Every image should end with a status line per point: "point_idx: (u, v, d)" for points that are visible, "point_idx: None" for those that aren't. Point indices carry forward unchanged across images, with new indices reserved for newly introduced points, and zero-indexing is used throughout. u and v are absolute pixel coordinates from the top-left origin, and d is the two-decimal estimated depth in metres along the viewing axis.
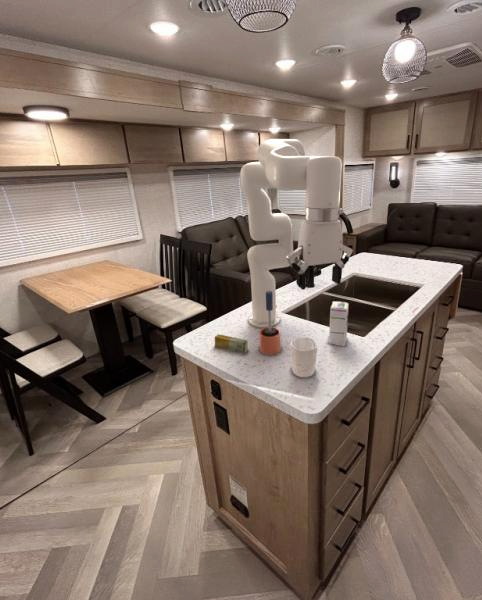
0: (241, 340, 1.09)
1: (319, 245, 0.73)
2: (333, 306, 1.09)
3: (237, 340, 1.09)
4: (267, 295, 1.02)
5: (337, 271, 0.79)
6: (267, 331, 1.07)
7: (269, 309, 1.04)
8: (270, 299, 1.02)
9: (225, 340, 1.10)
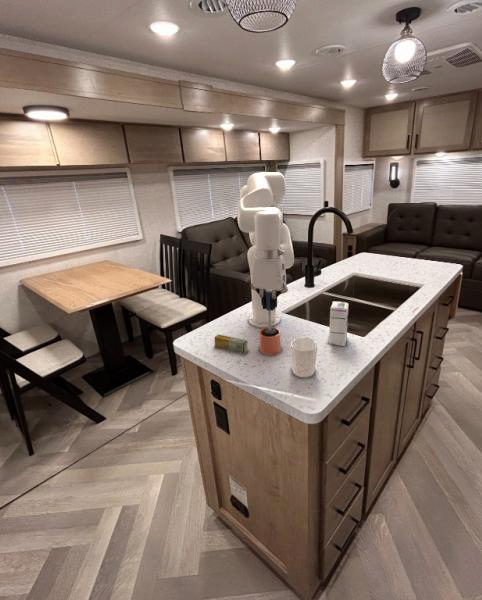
0: (241, 340, 1.09)
1: (260, 275, 0.98)
2: (333, 306, 1.09)
3: (237, 340, 1.09)
4: (267, 295, 1.02)
5: None
6: (267, 331, 1.07)
7: (269, 309, 1.04)
8: (270, 299, 1.02)
9: (225, 340, 1.10)
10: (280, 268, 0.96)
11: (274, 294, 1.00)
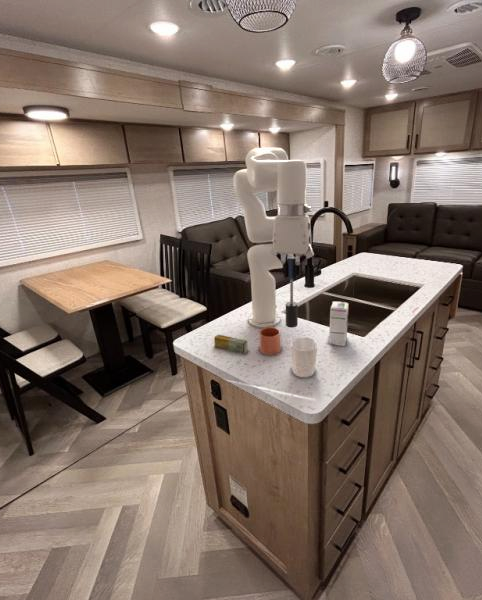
0: (241, 340, 1.09)
1: (283, 236, 0.86)
2: (333, 306, 1.09)
3: (237, 340, 1.09)
4: (289, 261, 0.89)
5: None
6: (288, 304, 0.94)
7: (291, 277, 0.91)
8: (293, 266, 0.89)
9: (225, 340, 1.10)
10: (306, 227, 0.83)
11: (298, 259, 0.88)
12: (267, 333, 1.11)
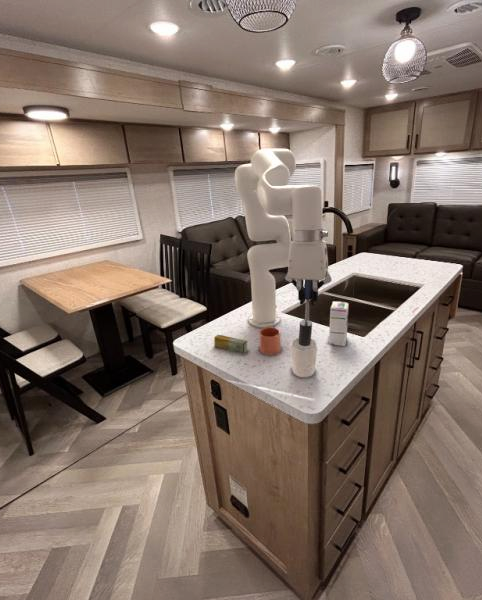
0: (241, 340, 1.09)
1: (299, 262, 0.83)
2: (333, 306, 1.09)
3: (237, 340, 1.09)
4: (307, 282, 0.85)
5: None
6: (303, 323, 0.92)
7: (308, 298, 0.87)
8: (310, 286, 0.86)
9: (225, 340, 1.10)
10: (323, 252, 0.81)
11: (315, 285, 0.85)
12: (267, 333, 1.11)
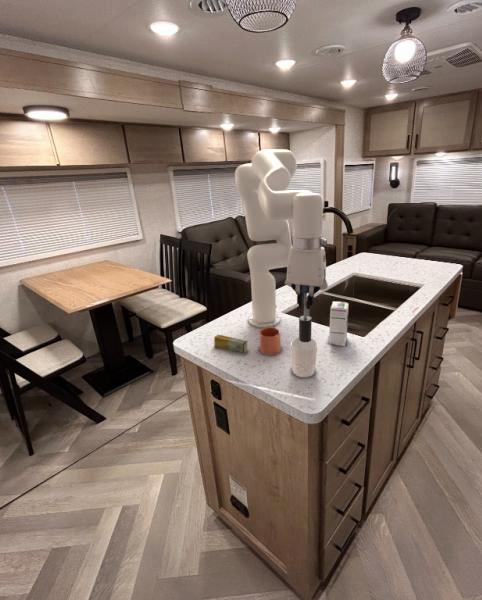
0: (241, 340, 1.09)
1: (297, 268, 0.85)
2: (333, 306, 1.09)
3: (237, 340, 1.09)
4: None
5: None
6: (302, 318, 0.91)
7: (305, 292, 0.88)
8: None
9: (225, 340, 1.10)
10: (321, 260, 0.82)
11: (312, 290, 0.87)
12: (267, 333, 1.11)
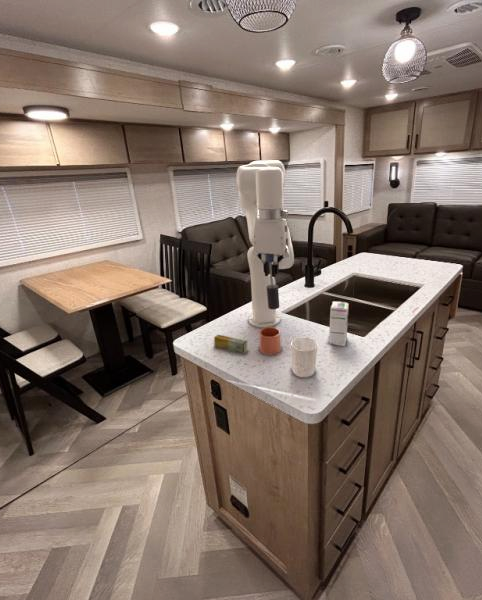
0: (240, 341, 1.09)
1: (262, 238, 0.93)
2: (333, 306, 1.09)
3: (236, 340, 1.09)
4: None
5: None
6: (269, 287, 0.99)
7: (270, 261, 0.95)
8: None
9: (225, 340, 1.09)
10: (283, 230, 0.91)
11: (276, 259, 0.95)
12: (267, 333, 1.11)
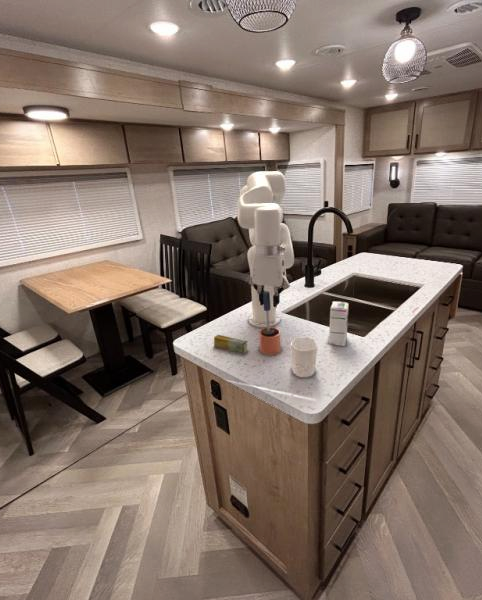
0: (240, 341, 1.09)
1: (260, 271, 0.98)
2: (333, 306, 1.09)
3: (236, 341, 1.09)
4: (264, 295, 1.01)
5: None
6: (266, 332, 1.07)
7: (267, 309, 1.03)
8: (267, 299, 1.02)
9: (225, 340, 1.09)
10: (280, 264, 0.96)
11: (276, 290, 1.00)
12: None
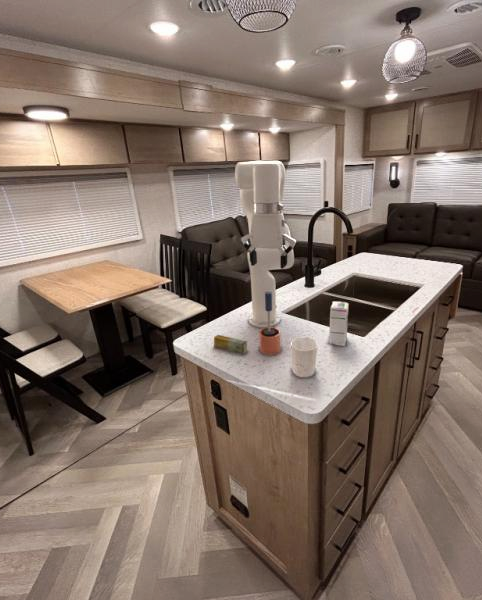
0: (240, 341, 1.09)
1: (259, 232, 0.93)
2: (333, 306, 1.09)
3: (236, 341, 1.09)
4: (266, 296, 1.01)
5: None
6: (266, 332, 1.07)
7: (268, 310, 1.03)
8: (269, 300, 1.02)
9: (225, 340, 1.09)
10: (280, 224, 0.91)
11: (282, 250, 0.94)
12: None
